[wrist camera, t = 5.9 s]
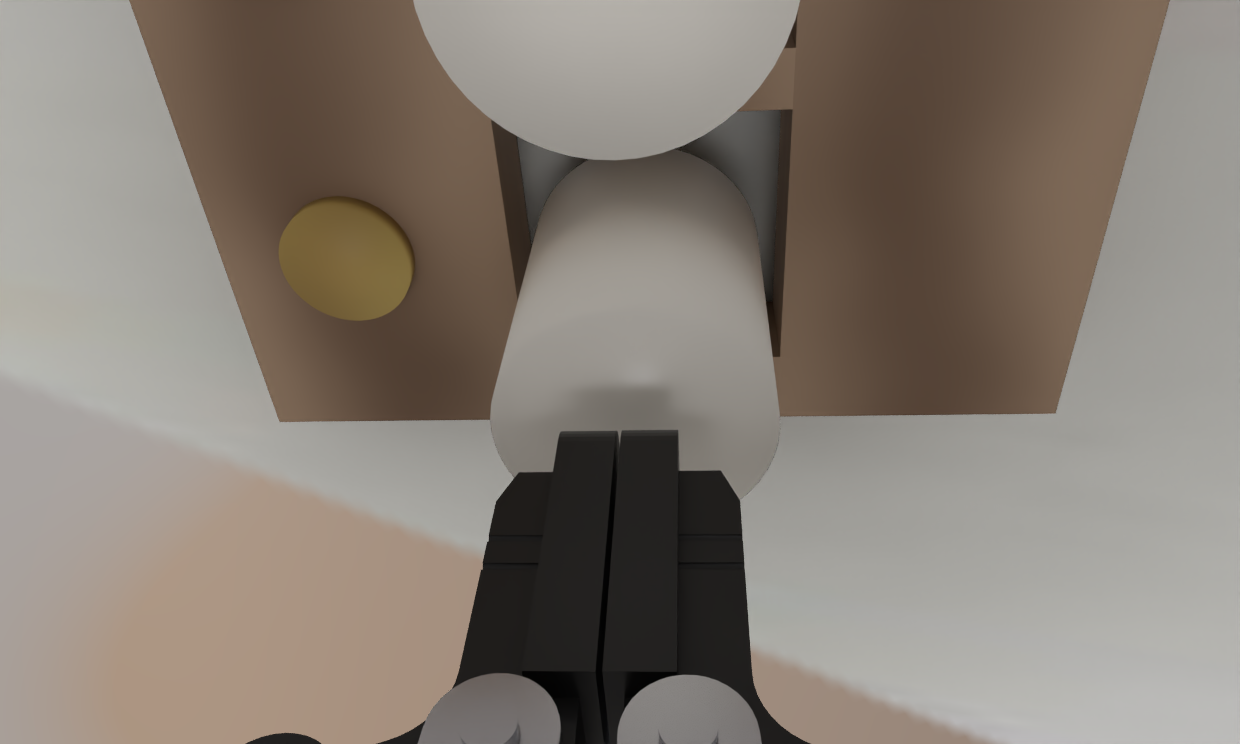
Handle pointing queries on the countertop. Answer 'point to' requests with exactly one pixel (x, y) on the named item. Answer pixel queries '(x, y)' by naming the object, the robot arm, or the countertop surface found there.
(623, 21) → the button
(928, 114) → the board
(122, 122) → the countertop surface
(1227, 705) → the countertop surface
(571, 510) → the robot arm
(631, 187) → the button
